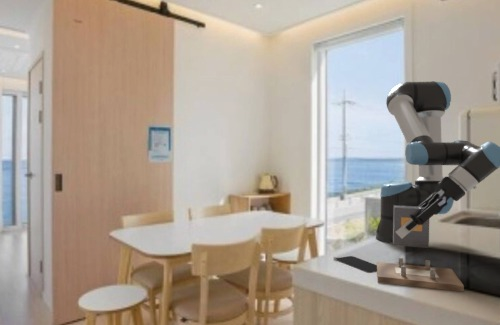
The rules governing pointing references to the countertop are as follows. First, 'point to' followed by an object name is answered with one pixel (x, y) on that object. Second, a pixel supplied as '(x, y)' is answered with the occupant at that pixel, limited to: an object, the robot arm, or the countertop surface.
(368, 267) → the smartphone
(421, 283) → the dock
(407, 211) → the block
